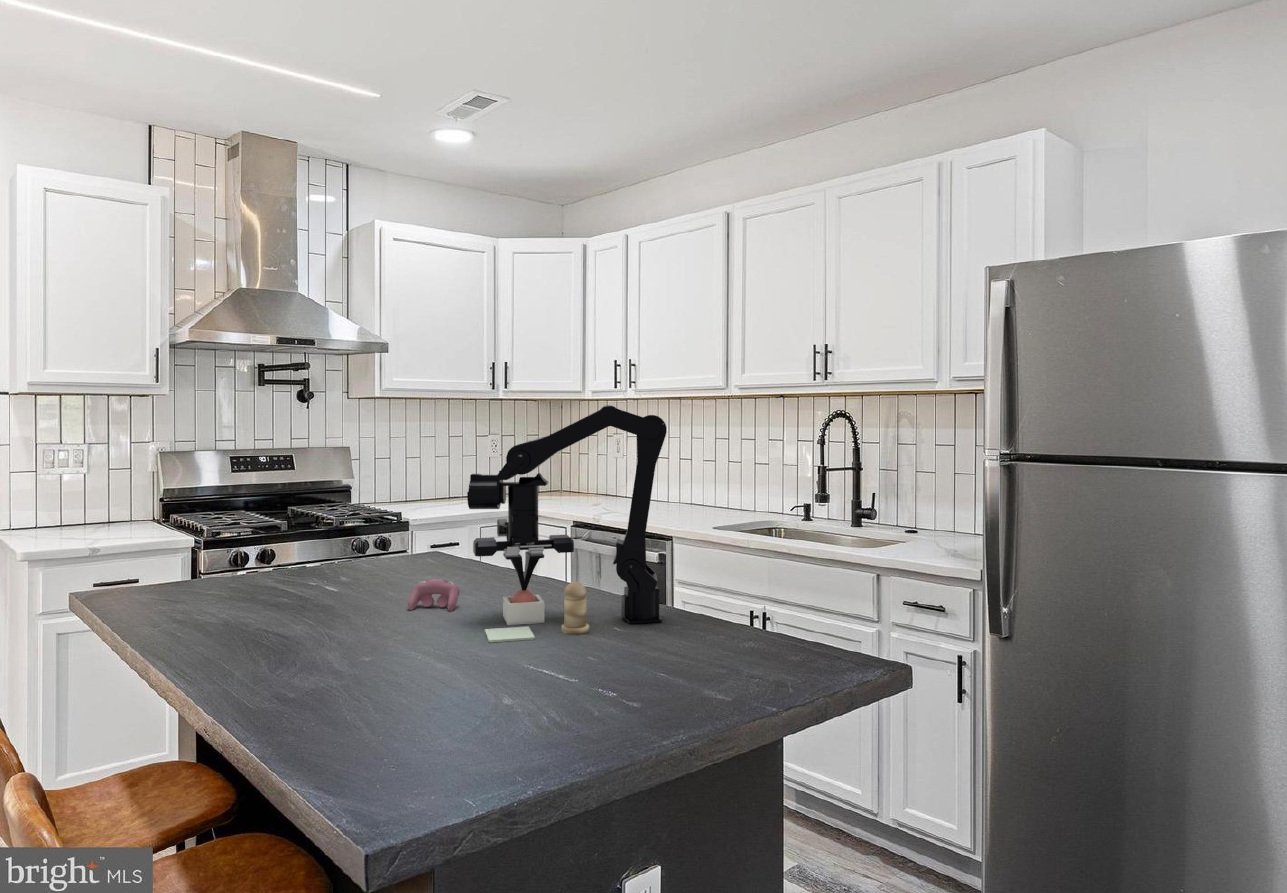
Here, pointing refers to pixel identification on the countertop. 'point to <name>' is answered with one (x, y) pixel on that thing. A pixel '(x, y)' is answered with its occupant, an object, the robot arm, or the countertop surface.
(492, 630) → the pad
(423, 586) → the video game controller
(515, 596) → the pink rounded piece
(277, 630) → the countertop surface
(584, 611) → the pawn
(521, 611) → the housing
